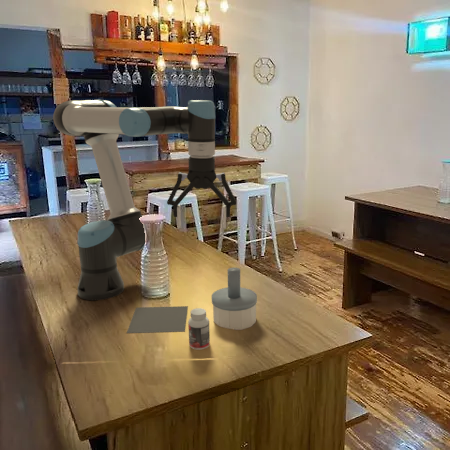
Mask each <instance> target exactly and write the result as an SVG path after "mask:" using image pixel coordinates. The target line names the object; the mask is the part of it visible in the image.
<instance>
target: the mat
mask: <svg viewBox="0 0 450 450" xmlns="http://www.w3.org/2000/svg"><path fill="white" fill-rule="evenodd" d="M188 309H189V306H188V305H187V306H183V305H182V306H146V307H144V306H143V307H142V306H141V307H135V309H134V311H133V315H132V317H131V320H130V323H129V326H128V328H127V331H126V334H149V333H153V334H154V333H183V332H184V333H185V332H186V326H187V325H186V324H187V318H188V311H189V310H188Z"/></svg>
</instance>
